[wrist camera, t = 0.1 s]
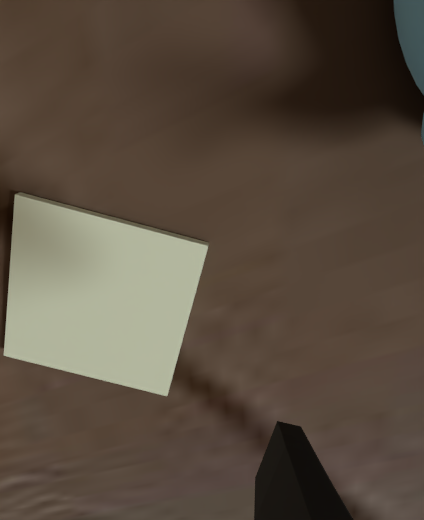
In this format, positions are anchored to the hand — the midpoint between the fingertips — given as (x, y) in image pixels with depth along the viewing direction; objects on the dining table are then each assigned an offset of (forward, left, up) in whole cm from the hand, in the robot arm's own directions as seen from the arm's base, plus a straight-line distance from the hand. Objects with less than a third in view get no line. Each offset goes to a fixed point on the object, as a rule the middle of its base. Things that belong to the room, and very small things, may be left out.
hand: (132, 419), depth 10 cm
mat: (-3, +4, -10) cm, 11 cm away
